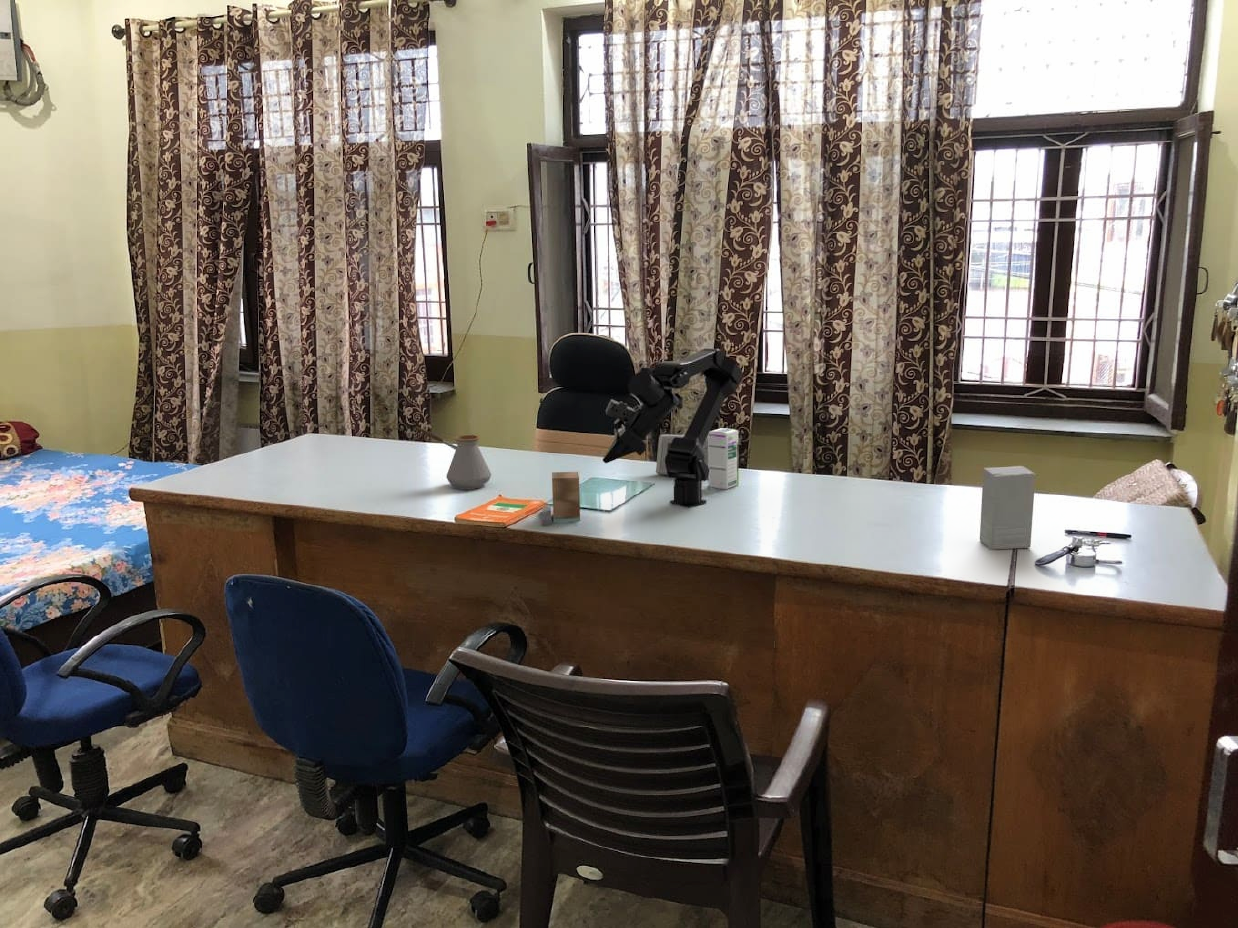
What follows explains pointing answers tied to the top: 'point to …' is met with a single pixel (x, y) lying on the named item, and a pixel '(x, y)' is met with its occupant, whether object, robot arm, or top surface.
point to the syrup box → (723, 458)
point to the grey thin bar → (546, 515)
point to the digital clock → (662, 452)
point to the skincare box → (1007, 507)
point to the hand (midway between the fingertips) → (604, 461)
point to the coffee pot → (465, 462)
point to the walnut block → (565, 496)
